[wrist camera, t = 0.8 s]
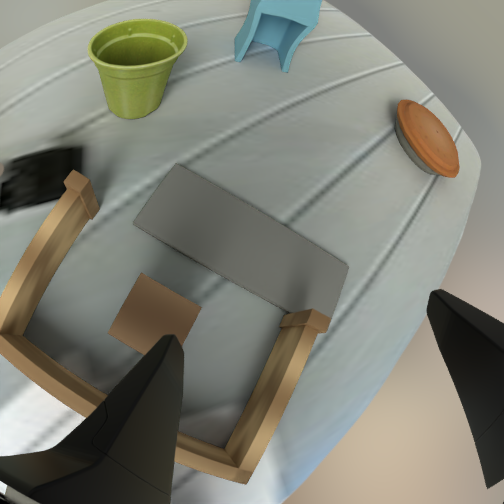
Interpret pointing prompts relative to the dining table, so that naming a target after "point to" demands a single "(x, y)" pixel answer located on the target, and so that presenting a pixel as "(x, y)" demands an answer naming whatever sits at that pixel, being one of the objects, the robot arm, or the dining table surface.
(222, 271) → the mat
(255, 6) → the wavy blue tube
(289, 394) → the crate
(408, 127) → the pie
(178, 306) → the block
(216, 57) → the dining table surface
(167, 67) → the plant pot
